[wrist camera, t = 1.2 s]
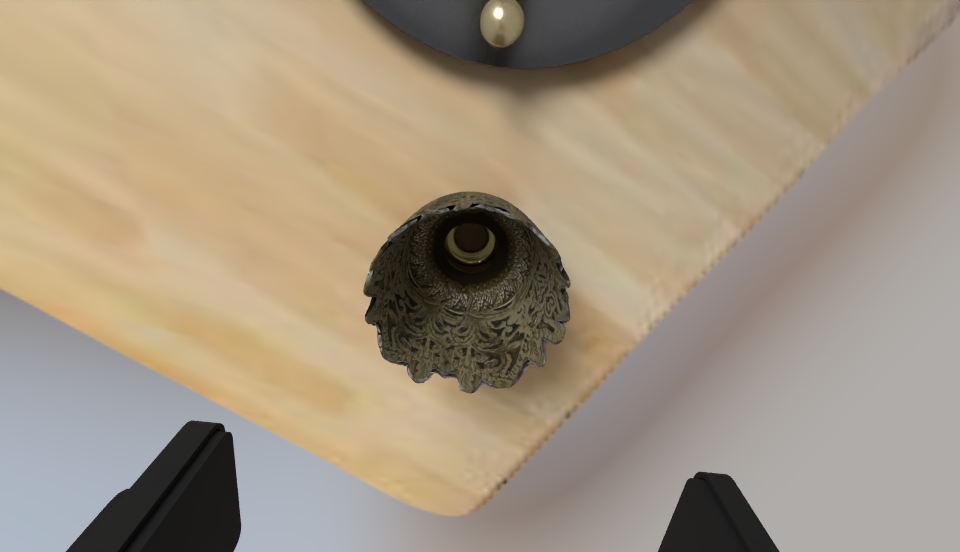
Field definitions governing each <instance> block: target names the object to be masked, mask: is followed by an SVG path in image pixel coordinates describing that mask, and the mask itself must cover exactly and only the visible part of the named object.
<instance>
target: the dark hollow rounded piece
mask: <svg viewBox="0 0 960 552" xmlns="http://www.w3.org/2000/svg"><path fill="white" fill-rule="evenodd" d="M464 223H477V224H480V225H482V226H483V227H484V229H485V230H486V233H487V242H486V244H485V246H484V247H483V248H482V249H481V250H479V251H476V252H466V251H464V250H462V249H461V248H460V247H459V246H458V245H457V243H456V239H455V235H456V231H457V229H458V228H459V227H460V226H461V225H462V224H464ZM387 239H388V241H387V242H386V243H385V244H384V245H383V246H382V247H381V249H380V250H379V252H378V254H377V255H376V257H375V258H374V260H373V262H372V263H371V266H370V271H371V272H370V271H369V272H370V273H369V274H368V276H367V279H366V282H365V285H364V291H363V292H364V294H365V295H366V296H368V297H372V299H371V302H370V305H369V308H368V310H367V312H366V314H365V320H366V322H367V323H368V324H372V325H374V326H375V325H376V327H377V332H378V345H379V348H380V352H381V354H382V357H383V358H384V359H386V360H387V361H389V362H391V363H394V364H398V365H404V366H407V372H408V375H409V376H410V377H411V379H412V380H413V381H414V382H416V383H424V382H425V381H427V380H429V378H431V375H433V374H434V373H438V374H439V375H440V376H441V377H442V378H444V379H446V378H448V377H454V378H457V380H458V382H459V384H460V386H459V388H460V390H461V391H464V392H467V393H474V392H475V391H477V390H478V388H479V387H480V386H481V384H485V385H487V386H489V387H491V388H509V387H512V386H513V385H514V384H515V383H516V382H517V381H518V379H519V378H520V377H521V375H522V374H523V372H524V370H525V369H526V367H527V366H528V365H529V364H530V362H531V363H534V366H537V367H540V366H542V367H543V366H544V364H545V363H546V351H545V350H546V349H545V347H546V342H547V343H551V344H556V345H557V344H559V343H560V342H561V341H562V340H563V338H564V334H565V330H566V327H565V324H564V322H566V323H567V321H569V320H570V311H569V304H568V298H569V297H568V294H567V292H566V289H565V287H566V288H569V286H570V280H569V277H568V275H567V273H566V271H565V270H564V268H563V266H562V263H561V257H560V255H559V253H558V251H557V250H556V248H555V247H554V246H553V245H552V244H551V242H550V241H549V240H548V239H547V238H546V237H545V236H544V235H543V234H542V232H541V231H540V230H539V229H538V228H537V227H536V225H535V224H534V223H533V222H532V221H531V220H530V219H529V218H528V217H527V216H526V215H525V214H524V213H523V212H522V211H520V210H519V209H518V208H517V207H515V206H514V205H512V204H511V203H509V202H507V201H505V200H503V199H501V198H499V197H496V196H493V195H490V194H486V193H480V192H458V193H453V194H449V195H446V196H443V197H440V198H438V199H436V200H434V201H432V202H430V203H428V204H427V205H425V206H423V207H422V208H421V209H419V210H418V211H417V212H416V213H414V214H413V215H412V216H411V217H410V218H409V219H408V220H407V221H406V222H405V223H404V224H402V225H401V226H400V227H399V228H398V229H397V230H395V231H394V232H393V233H392V234H391V235H390V236H389V237H388V238H387ZM375 323H376V324H375ZM531 366H533V365H531ZM430 372H434V373H431V374H429V373H430ZM428 374H429V375H428Z"/></svg>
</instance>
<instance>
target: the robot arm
mask: <svg viewBox="0 0 960 552" xmlns="http://www.w3.org/2000/svg"><path fill="white" fill-rule="evenodd" d="M240 532H241V519H240V510H239V498H238V488H237V478H236V468H235V457H234V447H233V437H232V434H231V433H230V432H225V428H224V426H223V425H222V424H220V423H211V422H201V421H189V422H187V423H186V424H185V425H184V426H183V427H182V429H181V430H180V431H179V432H178V433H177V434H176V436H175V437H174V438H173V439H172V440H171V441H170V442H169V444H168V445H167V446H166V447H165V449H163V451H162V452H161V453H160V454H159V455H158V456H157V458H156V459H155V460H154V461H153V462H152V463H151V465H150V466H149V467H148V468H147V469H146V470H145V472H144V473H143V474H142V475H141V476H140V477H139V478H138V480H137V481H136V482H135V483H134V484H133V485H132V487H131V488H130V489H126V490H124V491H122V492H120V493H118V494H117V495H116V496H115V497H114V498H113V499H112V500H111V501H110V502H109V503H108V504H107V506H106V507H105V508H104V509H103V510H102V511H101V512H100V513H99V515H98V516H97V517H96V518H95V519H94V520H93V521H92V523H91V524H90V525H89V526H88V527H87V528H86V529H85V530H84V532H83V533H82V534H81V535H80V536H79V537H78V538H77V540H76V541H75V542H74V543H73V544H72V545H71V546H70V547H69V549H68V550H67V551H66V552H233V551H234V549H235V547H236V545H237V543H238V540H239V537H240ZM658 552H779V550H778V549H777V547H776V546H775V544H774V543H773V541H772V539H771V538H770V536H769V535H768V533H767V532H766V530H765V528H764V527H763V525H762V524H761V522H760V521H759V519H758V517H757V516H756V515H755V513H754V511H753V510H752V508H751V507H750V505H749V504H748V502H747V500H746V499H745V497H744V496H743V494H742V493H741V491H740V489H739V488H738V487H737V485H736V483H735V482H734V480H733V479H732V478H731V477H730V476H728V475H727V474H717V473H707V472H698V473H696V475H695V476H694V478H690V479H688V480H687V482H686V484H685V487H684V489H683V492H682V494H681V497H680V499H679V502H678V504H677V507H676V509H675V511H674V514H673V516H672V519H671V521H670V523H669V526H668V528H667V531H666V534H665V536H664V538H663V541H662V543H661V545H660V548H659V550H658Z"/></svg>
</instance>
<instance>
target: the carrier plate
mask: <svg viewBox="0 0 960 552" xmlns="http://www.w3.org/2000/svg"><path fill="white" fill-rule="evenodd" d="M364 1H365V2H366V3H367V4H368V5H369V6H370V7H371V8H372V9H373V10H375V11H376V12H377V13H378V14H380V15H381V16H382V17H384V18H385V19H386V20H388V21H389V22H391V23H392V24H393V25H395V26H396V27H398V28H399V29H400V30H402V31H403V32H404V33H406V34H408V35H410V36H412V37H414V38H415V39H417V40H419V41H421V42H423V43H425V44H427V45H428V46H430V47H432V48H434V49H436V50H438V51H441V52H444V53H446V54H449V55H452V56H454V57H457V58H460V59H462V60H465V61H470V62H474V63H479V64H483V65H488V66H493V67H503V68H517V69H529V68H543V67H557V66H561V65H566V64H571V63H575V62H580V61H585V60H589V59H592V58H594V57H597V56H600V55H603V54H605V53H608V52H611V51H614V50H616V49H619V48H621V47H623V46H625V45H627V44H629V43H631V42H633V41H635V40H637V39H638V38H640V37H642V36H644V35H646V34H648V33H650V32H651V31H653V30H654V29H656V28H657V27H659V26H660V25H662V24H663V23H664V22H666V21H667V20H669V19H670V18H672V17H673V16H675V15H676V14H678V13H679V12H680V11H681V10H683V9H684V8H685V7H686V6H687V5H688V4H689V3H691V2H692V1H693V0H364Z"/></svg>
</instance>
